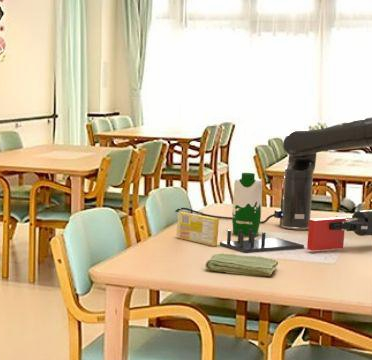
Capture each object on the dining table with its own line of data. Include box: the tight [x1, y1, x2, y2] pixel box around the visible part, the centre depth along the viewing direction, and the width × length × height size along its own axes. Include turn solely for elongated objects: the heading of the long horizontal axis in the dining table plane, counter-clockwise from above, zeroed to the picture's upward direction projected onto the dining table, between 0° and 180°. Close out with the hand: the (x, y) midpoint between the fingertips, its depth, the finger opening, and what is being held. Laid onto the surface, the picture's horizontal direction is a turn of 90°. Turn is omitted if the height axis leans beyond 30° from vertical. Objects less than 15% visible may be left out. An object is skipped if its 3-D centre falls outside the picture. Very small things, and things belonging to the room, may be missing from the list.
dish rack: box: [219, 229, 305, 254], centre depth 277 cm, size 12×22×5 cm, turn 116°
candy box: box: [176, 211, 220, 247], centre depth 283 cm, size 16×2×8 cm, turn 35°
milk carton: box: [231, 172, 263, 237], centre depth 297 cm, size 9×9×20 cm
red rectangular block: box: [306, 216, 346, 252], centre depth 273 cm, size 2×12×9 cm, turn 116°
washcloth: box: [204, 253, 279, 277], centre depth 243 cm, size 13×18×3 cm
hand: (327, 225), depth 272 cm, fingers closed on red rectangular block, 2 cm apart
